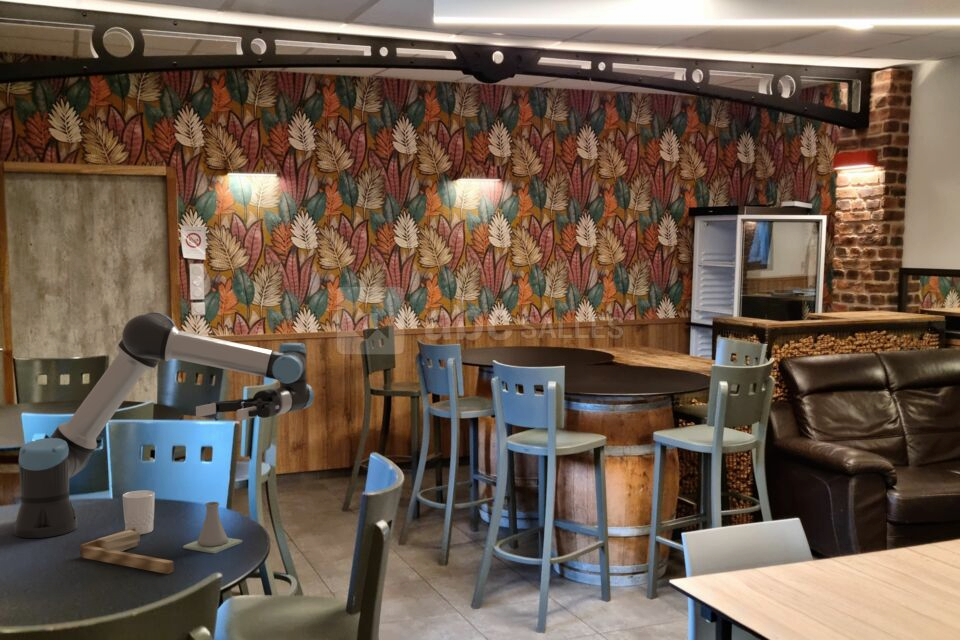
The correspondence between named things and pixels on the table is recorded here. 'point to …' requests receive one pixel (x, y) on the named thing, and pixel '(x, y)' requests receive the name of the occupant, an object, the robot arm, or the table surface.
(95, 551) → the corner fence
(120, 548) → the offcut low
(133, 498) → the white cup
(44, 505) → the robot arm
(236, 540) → the coaster
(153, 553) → the table surface
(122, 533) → the offcut top
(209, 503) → the flask
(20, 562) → the table surface
